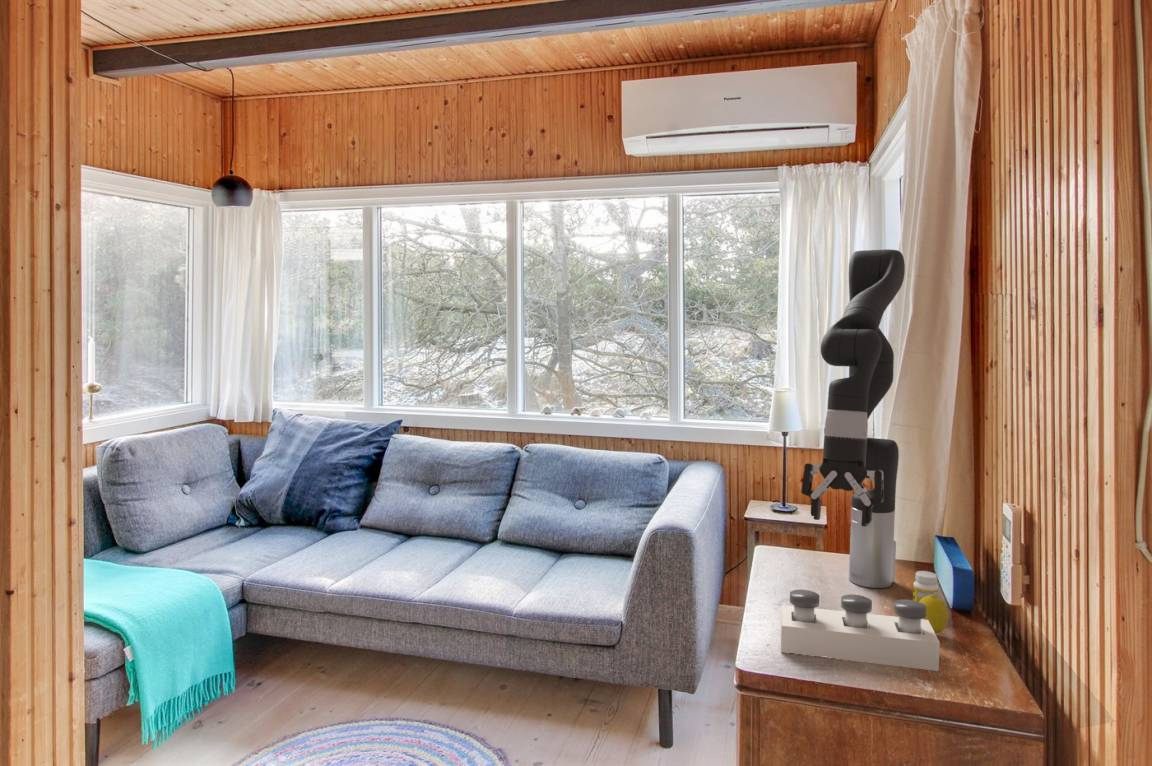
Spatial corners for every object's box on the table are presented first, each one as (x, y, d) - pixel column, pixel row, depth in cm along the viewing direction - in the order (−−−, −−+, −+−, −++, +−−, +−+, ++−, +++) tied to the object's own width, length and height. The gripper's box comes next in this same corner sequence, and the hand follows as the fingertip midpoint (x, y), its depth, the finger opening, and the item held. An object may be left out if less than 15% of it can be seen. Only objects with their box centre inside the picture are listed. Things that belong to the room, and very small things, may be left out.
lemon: (929, 643, 136) (931, 601, 135) (908, 631, 141) (910, 590, 140) (954, 640, 137) (956, 598, 137) (932, 628, 143) (934, 588, 142)
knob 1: (789, 627, 133) (790, 598, 133) (788, 616, 138) (789, 588, 138) (819, 630, 132) (820, 601, 132) (817, 619, 137) (818, 591, 137)
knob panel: (780, 652, 132) (781, 625, 131) (780, 630, 141) (781, 605, 141) (938, 671, 125) (939, 642, 125) (926, 646, 135) (928, 619, 134)
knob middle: (841, 633, 131) (842, 603, 131) (839, 621, 136) (840, 593, 136) (872, 636, 130) (873, 606, 129) (869, 625, 135) (870, 596, 134)
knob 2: (895, 639, 129) (896, 608, 128) (891, 627, 134) (892, 598, 133) (927, 642, 127) (929, 612, 127) (922, 630, 132) (923, 601, 132)
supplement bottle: (915, 607, 153) (917, 568, 152) (940, 613, 150) (942, 573, 149) (909, 614, 149) (911, 574, 148) (934, 620, 146) (936, 579, 145)
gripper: (889, 438, 136) (884, 526, 135) (811, 432, 143) (806, 515, 142) (882, 438, 129) (877, 530, 129) (801, 432, 137) (795, 518, 136)
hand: (840, 522), depth 136 cm, fingers open, 8 cm apart
